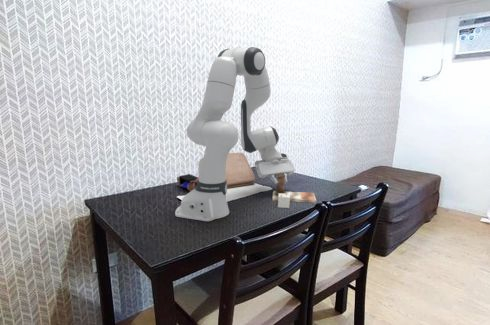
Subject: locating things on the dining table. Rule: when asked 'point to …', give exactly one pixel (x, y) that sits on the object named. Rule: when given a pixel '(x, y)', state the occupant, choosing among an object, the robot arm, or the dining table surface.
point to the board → (298, 197)
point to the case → (238, 171)
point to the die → (283, 200)
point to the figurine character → (186, 181)
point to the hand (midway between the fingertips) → (281, 182)
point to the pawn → (280, 185)
